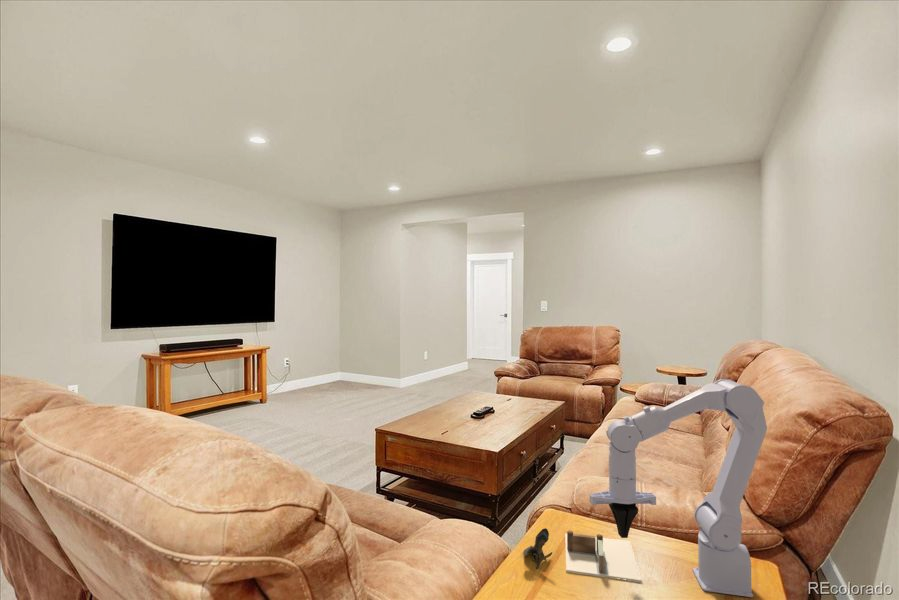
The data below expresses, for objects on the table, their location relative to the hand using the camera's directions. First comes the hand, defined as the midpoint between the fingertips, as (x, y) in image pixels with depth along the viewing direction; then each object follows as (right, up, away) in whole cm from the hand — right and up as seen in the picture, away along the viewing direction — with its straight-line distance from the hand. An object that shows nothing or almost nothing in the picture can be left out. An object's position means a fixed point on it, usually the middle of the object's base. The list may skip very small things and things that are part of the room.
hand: (622, 535), depth 101 cm
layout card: (-3, -8, +6) cm, 11 cm away
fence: (-6, -8, +8) cm, 13 cm away
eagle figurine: (-18, -9, +5) cm, 21 cm away
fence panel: (-4, -8, +2) cm, 9 cm away
